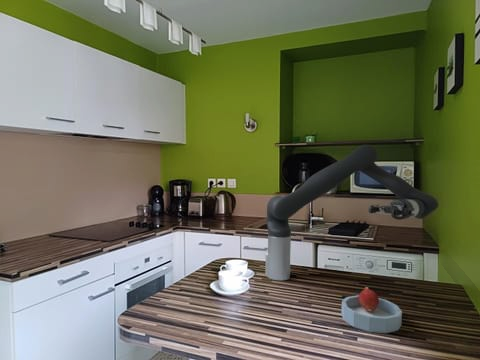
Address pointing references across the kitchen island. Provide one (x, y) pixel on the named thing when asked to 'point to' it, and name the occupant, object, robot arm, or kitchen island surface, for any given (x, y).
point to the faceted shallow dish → (372, 315)
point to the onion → (368, 299)
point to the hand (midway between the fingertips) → (380, 211)
